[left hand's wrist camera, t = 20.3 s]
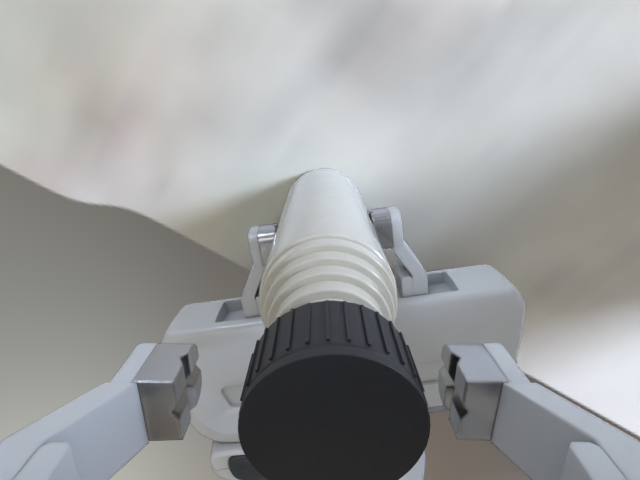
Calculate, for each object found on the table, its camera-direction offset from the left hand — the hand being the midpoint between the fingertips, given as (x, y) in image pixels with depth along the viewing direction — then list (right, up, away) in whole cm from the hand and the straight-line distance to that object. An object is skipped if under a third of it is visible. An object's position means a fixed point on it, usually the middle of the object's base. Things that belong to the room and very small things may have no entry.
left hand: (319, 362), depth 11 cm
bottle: (0, +6, +15) cm, 16 cm away
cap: (0, -1, -2) cm, 2 cm away
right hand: (0, +5, +9) cm, 10 cm away
